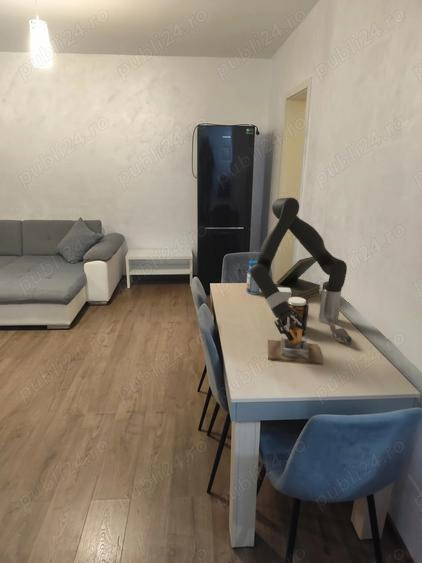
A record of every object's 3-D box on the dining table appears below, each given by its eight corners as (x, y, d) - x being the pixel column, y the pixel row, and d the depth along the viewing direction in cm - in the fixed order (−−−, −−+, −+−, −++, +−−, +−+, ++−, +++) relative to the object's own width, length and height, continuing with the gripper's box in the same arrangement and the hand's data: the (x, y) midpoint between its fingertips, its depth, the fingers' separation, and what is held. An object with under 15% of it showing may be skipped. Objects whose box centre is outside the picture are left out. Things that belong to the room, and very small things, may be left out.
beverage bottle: (255, 295, 223) (257, 264, 217) (243, 292, 228) (245, 261, 222) (262, 292, 230) (264, 261, 223) (250, 289, 234) (252, 258, 228)
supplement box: (288, 308, 205) (290, 287, 201) (289, 314, 198) (291, 292, 194) (274, 308, 205) (276, 286, 201) (275, 313, 198) (277, 291, 194)
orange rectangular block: (286, 349, 158) (288, 328, 155) (291, 346, 160) (293, 326, 157) (296, 354, 154) (298, 332, 151) (301, 351, 157) (303, 330, 154)
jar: (306, 334, 174) (310, 305, 170) (281, 332, 177) (284, 303, 172) (305, 324, 185) (309, 296, 181) (282, 322, 188) (285, 294, 183)
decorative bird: (342, 349, 162) (344, 339, 160) (318, 325, 185) (319, 316, 183) (355, 348, 162) (357, 338, 161) (330, 325, 186) (331, 315, 184)
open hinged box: (293, 286, 243) (297, 249, 235) (319, 294, 229) (324, 255, 222) (271, 293, 229) (274, 254, 221) (297, 302, 215) (302, 261, 207)
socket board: (317, 346, 164) (318, 338, 163) (322, 364, 149) (323, 356, 148) (267, 341, 167) (268, 333, 165) (268, 359, 152) (268, 350, 150)
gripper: (273, 304, 151) (294, 339, 147) (293, 296, 161) (313, 329, 156) (262, 312, 156) (282, 346, 152) (282, 304, 166) (301, 336, 162)
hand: (298, 337), depth 154 cm, fingers open, 8 cm apart
